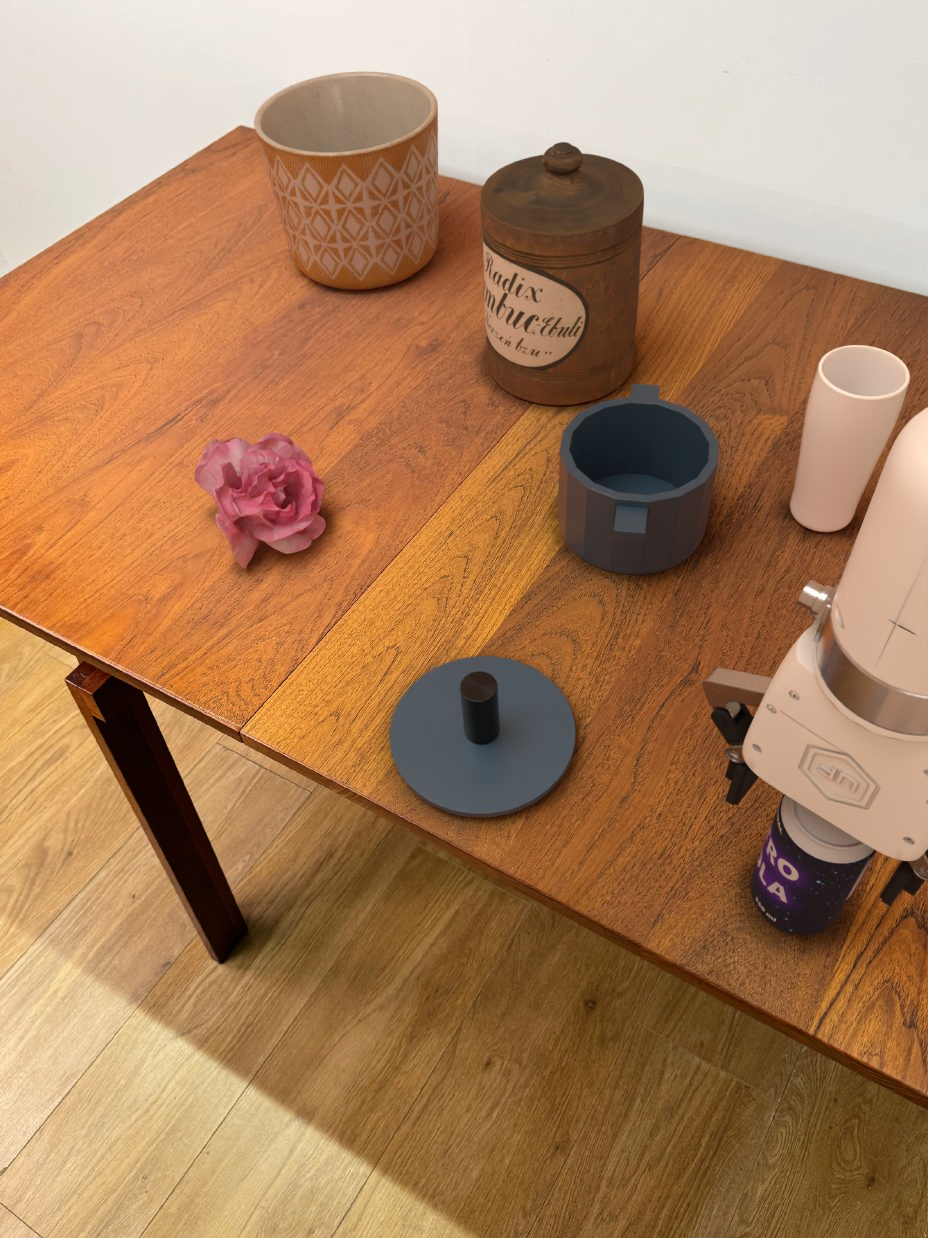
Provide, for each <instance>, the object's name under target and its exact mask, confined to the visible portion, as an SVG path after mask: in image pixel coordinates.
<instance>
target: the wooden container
mask: <svg viewBox="0 0 928 1238" xmlns="http://www.w3.org/2000/svg"><path fill="white" fill-rule="evenodd" d="M479 205H480V207H479V209H480V224H481V225H480V226H481V232H482V248H483V249H482V252H483V253H482V254H483V255H482V256H483V294H484V295H483V298H484V299H483V300H484V301H483V304H484V327H485V334H486V339H485V340H486V359H487V367H488V371H489V374H490V375H491V378H493V380H494V382H495V383H497V385H498V386H499V387H500V388H502V389H503V390H504V391H505V392H507V393H509V394H510V395H512V396H514V397H517V398H518V399H522V400H524V401H527V402H532V403H535V404H541V405H547V406H548V405H549V406H571V405H578V404H583V403H588V402H591V401H594V400H598V399H600V398H602V397H604V396H606V395H608V394H610V393H612V392H614V391H615V390H616V389H618V388H619V387H620V386H621V385H622V384H623V383H624V382H625V381H626V380H627V378H628V377H629V375H630V373H631V372H632V368H633V362H634V355H635V353H634V352H635V341H636V332H637V321H638V309H639V295H640V276H641V275H640V274H641V273H640V272H641V268H640V267H641V255H642V253H641V252H642V238H643V237H642V235H643V223H644V208H645V188H644V183H643V182H642V180H641V178H640V177H639V175H638V174H637V173H636V172H635V171H633V170H632V169H631V168H630V167H629V166H627V165H625V164H624V163H622V162H619V161H617V160H615V159H612V158H609V157H605V156H601V155H598V154H593V153H592V154H591V153H583V152H582V151H581V150H580V149H579V147H577V146H575V145H573V144H572V143H570V142H567V141H560V142H557V143H554V144H553V145H552V146H550V147H548V148H547V149H546V150H545V152H544V153H543V154H539V155H538V154H537V155H533V156H530V157H525V158H522V159H518V160H515V161H513V162H511V163H509V164H506V165H504V166H503V167H501V168H499V169H497V170H496V171H495V172H493V173H492V174H491V175H490V176H489V177H487V179H486V180H485V182H484V184H483V185H482V187H481V190H480V195H479Z"/></svg>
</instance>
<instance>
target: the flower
mask: <svg viewBox="0 0 928 1238" xmlns="http://www.w3.org/2000/svg"><path fill="white" fill-rule="evenodd" d="M193 476H194V481H195V482H196V483H197V484H198V485H199V487H200V489H202V490H204V491H205V492H206V493H207V494H208V495H209V496H210V497H212V499H213V501H214V503H215V505H216V507H217V509H218V510H217V513H216V514H215V518H214V519H215V522H216V523H215V524H216V527H218V529H220V530H221V532H223V534H224V535H225V537H226V539H227V541H228V543H229V544H230V548H231V549H230V551H231V553H232V555H233V558H234V559H235V560H236V562H237V564H238V565H239V566H240V568H242V569H247V567H248V564H249V563H250V562H251V560H252V558H253V557H254V554H255V552H256V550H257V548H258V547H259V545H260V541H262V542H264V543H265V544H266V545H268V546H270V547H271V548H273V549H275V550H276V551H279V552H280V553H283V554H285V555H287V554H288V555H289V554H294V553H296V552H297V553H298V552H301V551H303V550H305V549H308V548H309V547H310V546H311V545H312V543H313V540H315V539H317V538H319V537H320V536H321V535H322V534H323V532H324V531H325V529H326V526H327V523H326V520H325V518H323V517H322V516H321V515H319V514H318V513H319V512H320V509H321V506H322V499H323V493H324V490H325V485H324V484H325V483H324V481H323V480H322V479H320V478H319V477H318V476H317V474H316V472H315V470H314V468H313V465H312V462H311V459H310V457H309V456H308V454H306V452H305V451H304V450H303V449H302V448H301V446H300V445H298V444H297V443H295V442H294V441H293V440H292V439H291V438H290V437H289V436H286V435H285V434H283V433H281V432H269V433H265V434H264V435H263V436H262V437H261V438H260V439H259V440H258V442H254V443H252V444H251V443H250V442H248V441H247V440H245V439H244V438H241V437H236V436H234V437H231V438H229V439H226V440H224V441H220V440H219V439H217V438H215V439H213V440H212V441H211V442H209V443H208V444H206V445H205V446H204V449H203V451H202V454H201V457H200V459H199V461H198V463H197V465H196V467H195V469H194V475H193Z"/></svg>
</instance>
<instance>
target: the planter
mask: <svg viewBox="0 0 928 1238" xmlns="http://www.w3.org/2000/svg"><path fill="white" fill-rule="evenodd" d="M253 119H254V120H253V128H254V130H255V134H256V137H257V141H258V145H259V147H260V151H261V156H262V158H263V162H264V164H265V168H266V169H265V170H266V172H267V175H268V179H269V183H270V186H271V190H272V193H273V197H274V199H275V203H276V206H277V207H276V208H277V211H278V213H279V218H280V220H281V224H282V227H283V231H284V234H285V238H286V242H287V245H288V249H289V252H290V255H291V258H292V260H293V262H294V264H295V266H296V267H297V268H298V269H299V271H300V272H301V273H302V274H304V275H305V277H308V278H309V279H311V280H312V281H314V282H316V283H319V284H321V285H323V286H327V287H330V288H335V289H341V290H352V291H354V290H355V291H359V290H361V291H362V290H372V289H379V288H383V287H387V286H391V285H394V284H397V283H399V282H402V281H404V280H406V279H409V278H410V277H412V276H413V275H415V274H416V273H418V272H419V271H420V270H422V269H423V268H424V267H425V266H426V265H427V264H428V263H429V262H430V261H431V259H432V258H433V256H434V254H435V252H436V251H437V247H438V244H439V236H440V235H439V234H440V232H439V229H440V228H439V105H438V99H437V96H435V94H434V92H433V91H432V90H431V89H430V88H429V87H427V86H426V85H424V84H423V83H421V82H419V81H417V80H415V79H413V78H410V77H407V76H403V75H401V74H400V75H399V74H395V73H389V72H381V71H345V72H337V73H330V74H325V75H320V76H316V77H312V78H309V79H305V80H302V81H299V82H296V83H293V84H291V85H289V86H288V87H285V88H284V89H281V90H280V91H278V92H276V93H275V94H273V95H271V96H270V97H268V99H266V100H265V101H264V102H263V103H262V104H261V106H259V108H258V110H257V111H256V113H255V115H254V118H253Z"/></svg>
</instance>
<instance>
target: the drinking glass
mask: <svg viewBox="0 0 928 1238" xmlns="http://www.w3.org/2000/svg"><path fill="white" fill-rule="evenodd" d="M910 380H911V373H910V371H909V368H908V367H907V365H906V363H905V362H904V361H902V360H901V358H900V357H898V356H896V355H895V354H893V353H892V352H889V351H888V350H885V349H882V348H879V347H875V346H871V345H863V344H852V345H851V344H850V345H843V346H840V347H837V348H834V349H832V350H830V351H828V352H827V353H825V354H824V355H823V356H822V357H821V358H820V360H819V362H818V365H817V369H816V372H815V374H814V377H813V381H812V384H811V386H810V387H811V388H810V391H809V395H808V399H807V404H806V409H805V412H804V413H805V414H804V418H803V419H804V420H803V427H802V434H801V440H800V445H799V453H798V459H797V465H796V473H795V479H794V485H793V489H792V493H791V496H790V501H789V509H790V514H791V515H792V517H793V519H794V520H795V521H796V522H797V523H798V524H800V525H801V526H802V527H804V528H806V529H808V530H811V531H813V532H819V533H831V532H832V533H833V532H836V531H839V530H842V529H844V528H845V527H847V526H848V525H849V524H850V523H851V522H852V520H853V518H854V516H855V513H856V511H857V508H858V505H859V502H860V500H861V498H862V495H863V494H864V492H865V489H866V487H867V485H868V483H869V481H870V479H871V477H872V474H873V473H874V470H875V469H876V466H877V464H878V462H879V460H880V458H881V456H882V454H883V452H884V450H885V448H886V446H887V443H888V442H889V439H890V437H891V435H892V433H893V431H894V428H895V426H896V424H897V421H898V419H899V416H900V413H901V410H902V407H903V405H904V402H905V398H906V395H907V391H908V388H909V385H910V382H911V381H910Z"/></svg>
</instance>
